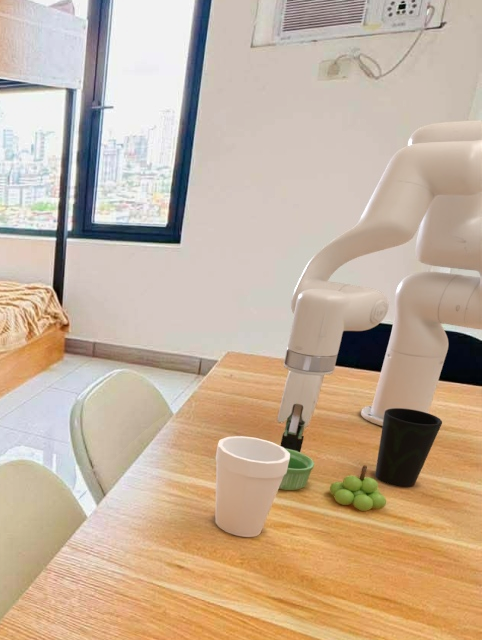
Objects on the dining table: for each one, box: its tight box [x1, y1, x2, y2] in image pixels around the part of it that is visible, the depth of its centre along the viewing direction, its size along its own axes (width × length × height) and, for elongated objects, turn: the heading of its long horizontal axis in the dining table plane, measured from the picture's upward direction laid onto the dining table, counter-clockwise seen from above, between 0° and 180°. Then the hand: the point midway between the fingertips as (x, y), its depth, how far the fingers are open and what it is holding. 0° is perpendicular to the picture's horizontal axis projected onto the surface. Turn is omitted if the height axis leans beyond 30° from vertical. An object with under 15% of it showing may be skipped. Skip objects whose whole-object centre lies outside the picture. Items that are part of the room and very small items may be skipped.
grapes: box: [329, 464, 387, 512], centre depth 102 cm, size 8×7×7 cm
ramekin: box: [278, 448, 315, 491], centre depth 109 cm, size 9×9×4 cm
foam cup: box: [214, 435, 290, 538], centre depth 94 cm, size 10×9×13 cm
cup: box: [374, 408, 443, 488], centre depth 108 cm, size 8×8×12 cm
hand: (288, 454), depth 116 cm, fingers closed
